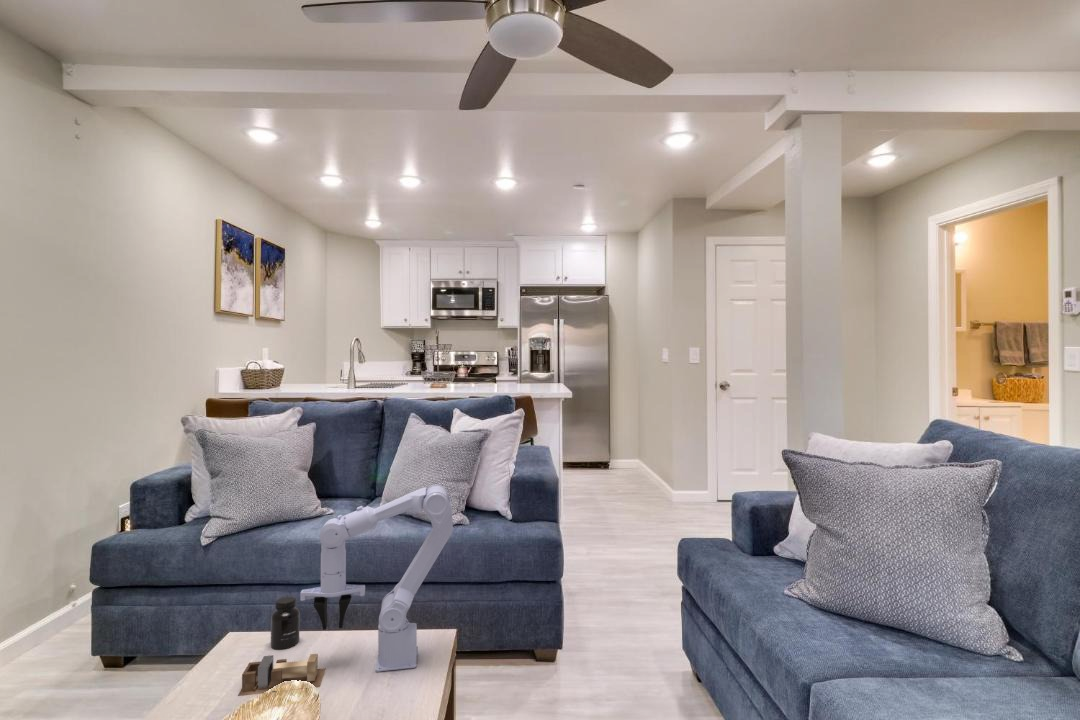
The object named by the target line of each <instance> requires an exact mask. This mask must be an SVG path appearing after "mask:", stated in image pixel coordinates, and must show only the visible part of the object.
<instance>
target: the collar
mask: <svg viewBox="0 0 1080 720" xmlns="http://www.w3.org/2000/svg"><path fill="white" fill-rule="evenodd" d="M274 657H275V656H274V654H273V655H263V657H262V659H261V661H260V662H261V663H260V665H259V666H258V690H263V689H268V687H269V685H270V683H271V671H272V669H273V668H274Z"/></svg>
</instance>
